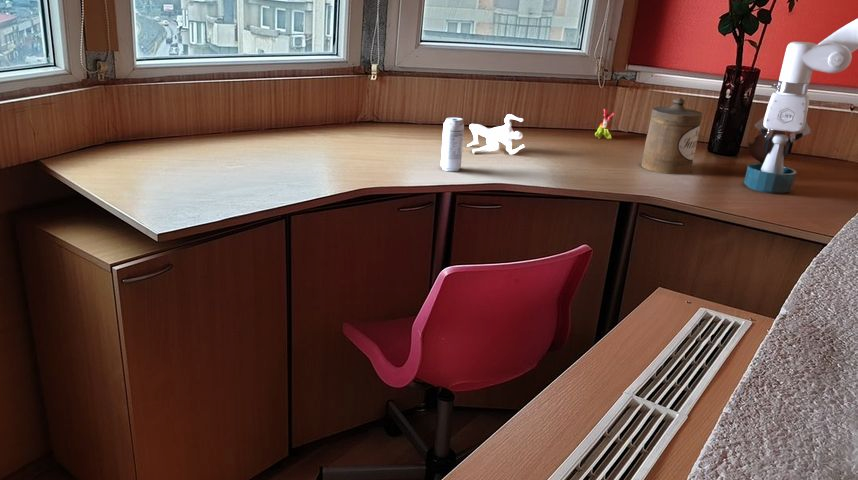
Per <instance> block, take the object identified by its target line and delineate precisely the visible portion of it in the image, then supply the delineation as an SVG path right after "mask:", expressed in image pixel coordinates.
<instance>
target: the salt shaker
mask: <svg viewBox="0 0 858 480" xmlns="http://www.w3.org/2000/svg"><path fill="white" fill-rule="evenodd" d="M788 140H789V136H788V135H786V134H785V135H782V134H775V135H773V136H772V138H771V142H772V146H771V148H770V150H769V152H768V154H767V157H766V159H765V161H764V163H763V165H762V168H761V171H764V172H769V173H778V174H783V166H784V157H785V155H784V146H786V145H787V143H788Z"/></svg>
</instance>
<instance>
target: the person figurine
mask: <svg viewBox="0 0 858 480" xmlns="http://www.w3.org/2000/svg"><path fill="white" fill-rule="evenodd" d="M511 120H515V121H518V122H520V123H523V122H524V118H523V117H518V116H516V115H514V114H511V113H508V114H506V116H505V118H504V119H503V122H504V123H505V124H504V125H501V126H494V127H492V128H488V127H486V126H485V125H482V124H479V123H471V124H469V127H468V128H469V130H470V131H471V133H472V136H473V141H472V142H470V143H468V144H467V145H466V147H472V146H477V145H479V144H480V143H479V136H481V137H484V138H485V142H486V145H484V146H481V147H479V148H478V147H477V148H473V149H472V154H475V153H479V152H486V153H489V152H495V151H498V150H500V143H502V144H503V145H504V146H505V150H506V152H507V153H508V154H509V155H513V156H514V155H515V154H517V153H518V152H519V151H521V150H522V149H525V148H526V145H525V144H521V145H519V147H517V148H514V149H513V141H512V140H516V141H517V140H522V138H523V137H524V135H523V133H522V132H521V131H519V130H515V131H514V129H513V127H512V124H513V123H512V122H511Z"/></svg>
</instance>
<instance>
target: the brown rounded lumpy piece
mask: <svg viewBox="0 0 858 480" xmlns="http://www.w3.org/2000/svg"><path fill="white" fill-rule="evenodd" d="M766 131H768V129H766ZM775 134H782V135H786V131H780V130H774V131H773V133H772V135H771V138H772V136H773V135H775ZM765 140H766V139H765V137H764V136H763V134H762V133H760V134H758V135H757V136H755V137H754V139H753V140H751V141H749V142H748V143H747V150H748V152H749V154H750V156H751V157H752V158H753V159H755V160H756V161H758V163H764V161H765V159H766V157H767V154H768V153H767V154H765V151H766V150H763V148H764V144H765ZM771 146H772V142H771V143H770V148H771ZM770 148H769V150H770ZM785 149H786V145H784V153H785Z"/></svg>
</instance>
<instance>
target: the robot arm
mask: <svg viewBox="0 0 858 480" xmlns="http://www.w3.org/2000/svg"><path fill="white" fill-rule="evenodd" d="M856 50H858V17H857V18H856V19H854V20H852V21H850V22H849V23H847V24H845V25H844V26H842V27H840V28H839V29H837V30H836V31H834V32H832V34H830V35H828V36H827V37H826V38H824V39H823V40H821V41H820V42H819V43H815V42H811V41H810V42H809V41H792V42H791V41H790V42H789V43H788V44H787V46H786V49H785V52H784V57H783V61H782V66H781V69H780V73H779V79H778V81H777V82H772V83H771V86H770V87H771V88H773V89H775V91H773V92H772V94H771V96H770V98H769V101H768V104H767V106H766V111H765V114H764V115H763V117H762V118H760V119H759V120H758V121H757V122H756V123H755V124H754V128H755V129H757V130H758V131H759V132H760V134H763V136H764V137H765V139H766V140H765V144H764V148H763V150H766V151H765V154H767V153H768V152H769V148H770V143H771V135H772V133H773V131H774V130H780V131H784V132H789V138H788V143H787V144H785V146H786V149H785V153H784V157H788V154H791V153H792V151H793V150H792V149H793V145H794V143H795V142H796V141H799V140H800V139H801V138H802V137H806V136H807V135H810V134H811V133H812V130H811V129H810V126H809V124H808V122H807V117H808V112H809V105H810V95H809V94H808V90H809V87H810V82H811V80H812V79H811V78H812V74H813V71H817V72H822V73H826V74H838V73H840V72H843V71H844V70H846V69H847V68H848V67H849V66H850V64H851V62H852V58H853V56H852V55H853V54H852V53H854V52H855V51H856ZM767 130H768V131H767Z"/></svg>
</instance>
